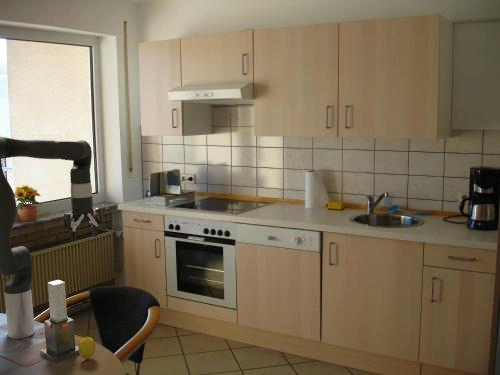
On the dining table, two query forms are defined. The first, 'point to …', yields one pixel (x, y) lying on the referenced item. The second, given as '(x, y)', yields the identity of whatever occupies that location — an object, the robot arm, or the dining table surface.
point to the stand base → (59, 341)
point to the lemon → (87, 347)
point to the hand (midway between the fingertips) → (84, 238)
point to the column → (57, 302)
